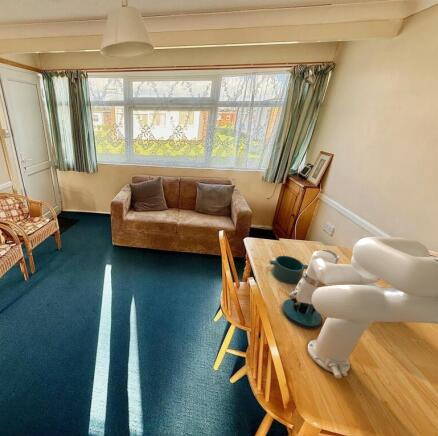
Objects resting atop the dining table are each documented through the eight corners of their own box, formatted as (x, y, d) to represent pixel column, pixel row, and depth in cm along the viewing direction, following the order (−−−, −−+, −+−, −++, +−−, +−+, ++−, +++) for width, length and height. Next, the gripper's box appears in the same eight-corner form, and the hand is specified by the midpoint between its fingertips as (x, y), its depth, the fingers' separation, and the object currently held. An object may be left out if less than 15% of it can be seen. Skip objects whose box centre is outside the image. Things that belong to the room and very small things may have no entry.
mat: (327, 332, 94) (328, 331, 94) (287, 325, 97) (287, 324, 97) (313, 305, 107) (313, 304, 107) (278, 299, 110) (278, 298, 110)
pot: (309, 286, 118) (314, 273, 115) (269, 280, 123) (273, 268, 119) (300, 270, 130) (304, 258, 127) (264, 265, 135) (267, 253, 131)
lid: (327, 330, 94) (332, 320, 91) (287, 323, 97) (291, 312, 95) (313, 303, 107) (317, 293, 104) (278, 298, 110) (282, 288, 108)
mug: (332, 266, 133) (338, 252, 129) (333, 276, 126) (340, 261, 121) (310, 261, 138) (315, 247, 134) (310, 269, 131) (315, 255, 127)
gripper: (295, 281, 92) (283, 313, 100) (344, 289, 88) (328, 321, 96) (289, 270, 99) (279, 301, 106) (335, 276, 95) (320, 308, 103)
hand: (302, 310), depth 101 cm, fingers open, 5 cm apart
